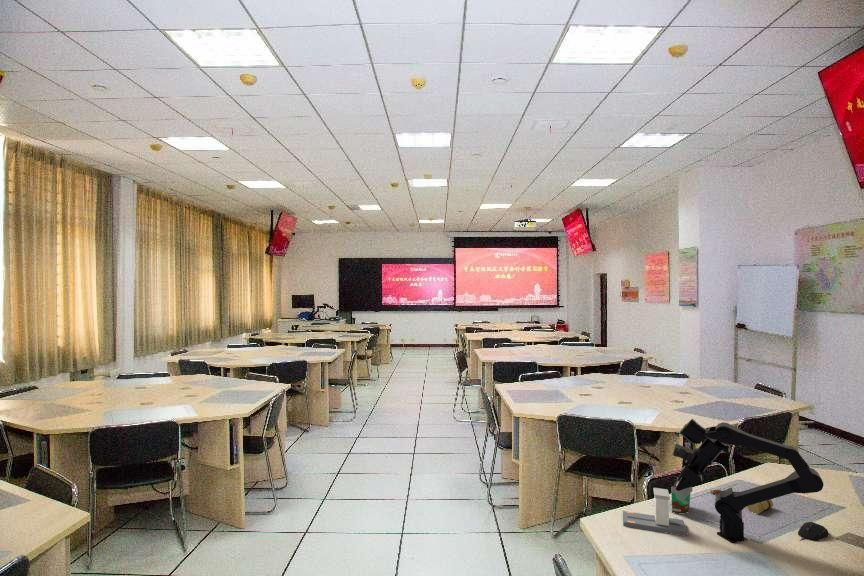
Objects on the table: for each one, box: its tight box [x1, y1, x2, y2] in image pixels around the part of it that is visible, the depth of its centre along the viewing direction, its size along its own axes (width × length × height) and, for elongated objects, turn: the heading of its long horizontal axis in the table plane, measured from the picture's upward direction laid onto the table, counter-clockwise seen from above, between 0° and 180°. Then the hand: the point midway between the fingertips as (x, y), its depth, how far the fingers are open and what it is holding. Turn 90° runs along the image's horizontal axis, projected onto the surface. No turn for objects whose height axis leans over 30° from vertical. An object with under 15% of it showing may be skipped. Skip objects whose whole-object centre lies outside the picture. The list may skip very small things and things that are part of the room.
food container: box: [670, 476, 693, 514], centre depth 179 cm, size 12×6×10 cm, turn 143°
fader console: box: [622, 510, 688, 537], centre depth 167 cm, size 20×9×2 cm, turn 69°
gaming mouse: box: [797, 521, 830, 542], centre depth 160 cm, size 6×15×4 cm, turn 118°
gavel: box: [709, 489, 774, 515], centre depth 186 cm, size 21×5×10 cm
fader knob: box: [653, 487, 671, 526], centre depth 166 cm, size 5×6×10 cm
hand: (677, 485), depth 167 cm, fingers open, 9 cm apart
